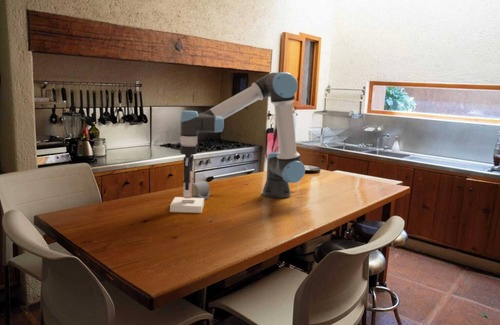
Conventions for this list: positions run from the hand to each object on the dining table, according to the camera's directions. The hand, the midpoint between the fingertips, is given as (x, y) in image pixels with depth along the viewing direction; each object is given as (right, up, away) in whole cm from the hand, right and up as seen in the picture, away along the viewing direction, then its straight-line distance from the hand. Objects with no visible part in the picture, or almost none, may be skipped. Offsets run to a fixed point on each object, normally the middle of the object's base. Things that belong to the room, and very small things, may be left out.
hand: (187, 195), depth 190 cm
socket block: (0, -6, +1) cm, 6 cm away
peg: (0, -1, 0) cm, 1 cm away
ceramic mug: (+4, -3, +21) cm, 22 cm away
